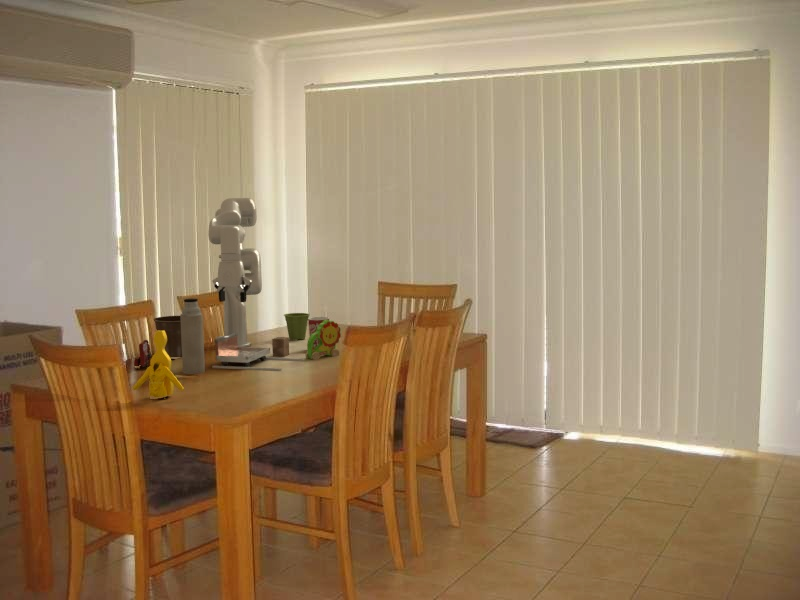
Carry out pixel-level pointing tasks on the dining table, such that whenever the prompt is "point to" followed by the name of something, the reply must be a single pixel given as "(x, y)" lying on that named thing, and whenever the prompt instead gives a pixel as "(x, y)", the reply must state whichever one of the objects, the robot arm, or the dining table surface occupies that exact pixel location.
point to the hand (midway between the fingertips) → (232, 301)
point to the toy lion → (324, 340)
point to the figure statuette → (159, 370)
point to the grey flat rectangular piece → (259, 367)
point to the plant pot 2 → (297, 325)
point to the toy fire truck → (144, 354)
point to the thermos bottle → (192, 338)
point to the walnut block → (280, 346)
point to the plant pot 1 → (171, 334)
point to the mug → (315, 327)
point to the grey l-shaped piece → (237, 351)
